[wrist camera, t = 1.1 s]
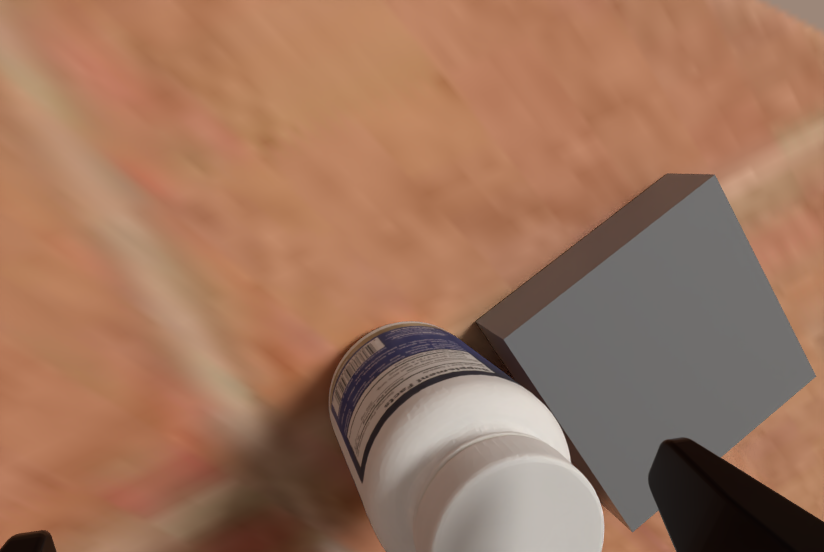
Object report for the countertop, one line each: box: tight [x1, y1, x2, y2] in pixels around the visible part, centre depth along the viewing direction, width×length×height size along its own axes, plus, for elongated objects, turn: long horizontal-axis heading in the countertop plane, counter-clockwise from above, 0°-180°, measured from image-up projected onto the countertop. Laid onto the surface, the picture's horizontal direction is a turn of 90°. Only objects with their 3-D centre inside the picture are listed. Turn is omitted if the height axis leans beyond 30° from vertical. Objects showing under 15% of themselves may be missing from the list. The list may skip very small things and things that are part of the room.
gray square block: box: [475, 174, 816, 532], centre depth 24 cm, size 9×9×2 cm
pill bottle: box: [329, 321, 604, 552], centre depth 18 cm, size 5×5×10 cm
